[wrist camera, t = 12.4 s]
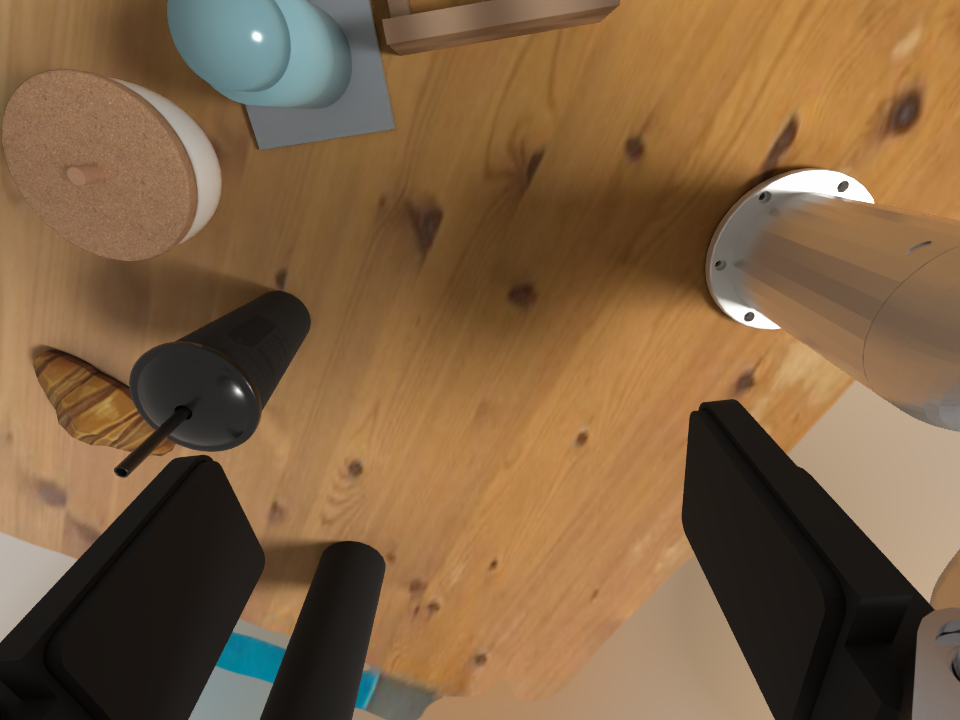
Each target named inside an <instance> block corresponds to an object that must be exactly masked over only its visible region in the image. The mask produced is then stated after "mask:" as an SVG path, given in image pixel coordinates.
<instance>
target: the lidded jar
mask: <svg viewBox="0 0 960 720" xmlns="http://www.w3.org/2000/svg"><path fill="white" fill-rule="evenodd" d="M2 143H3V148H4V154H5V158H6V161H7V164H8V167H9V170H10V173H11V175H12V177H13V179H14V181H15V183H16V185H17V187H18V188H19V190H20V192H21V193H22V195H23V197H24V198H25V200H26V201H27V202H28V204H29V205H30V206H31V207H32V209H33V210H34V211H35V212H36V213H37V214H38V215H39V217H40V218H41V219H42V220H43V221H44V222H45V223H46V224H47V225H48V226H50V227H51V228H52V229H53V230H54V231H56V232H57V233H58V234H59V235H61V236H62V237H64V238H65V239H67V240H68V241H69V242H71V243H72V244H74V245H76V246H78V247H80V248H82V249H84V250H86V251H88V252H91V253H93V254H96V255H98V256H101V257H105V258H109V259H113V260H121V261H140V260H145V259H149V258H153V257H156V256H158V255H160V254H163V253H165V252H167V251H169V250H170V249H172V248H173V247H175V246H177V245H179V244H181V243H183V242H185V241H187V240H188V239H190V238H191V237H192V236H194V235H195V234H197V233H198V232H199V231H200V230H201V229H202V228H203V227H204V226H205V225H206V224H207V223H208V222H209V221H210V220H211V218H212V216H213V215H214V213H215V211H216V209H217V206H218V203H219V201H220V196H221V191H222V176H221V169H220V165H219V161H218V158H217V155H216V153H215V151H214V148H213V146H212V144H211V143H210V141H209V139H208V138H207V136H206V134H205V133H204V132H203V130H202V129H201V128H200V126H199V125H198V124H197V123H196V122H195V121H194V120H193V119H192V118H191V117H190V116H189V115H188V114H187V113H186V112H184V111H183V110H182V109H181V108H180V107H178V106H177V105H176V104H175V103H173V102H171V101H170V100H168V99H167V98H165V97H163V96H162V95H160V94H158V93H156V92H153V91H151V90H149V89H147V88H145V87H142V86H140V85H136V84H133V83H130V82H127V81H123V80H120V79H116V78H110V77H104V76H101V75H98V74H94V73H90V72H84V71H76V70H67V69H65V70H51V71H47V72H43V73H39V74H37V75H35V76H33V77H31V78H29V79H28V80H26V81H25V82H24V83H23V84H21V85H20V86H19V87H18V88H17V89H16V91H15V92H14V94H13V95H12V96H11V98H10V99H9V102H8V105H7V107H6V109H5V112H4V117H3V124H2Z"/></svg>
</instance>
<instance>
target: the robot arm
mask: <svg viewBox="0 0 960 720" xmlns="http://www.w3.org/2000/svg"><path fill="white" fill-rule="evenodd" d="M761 194H762V196H761V198H760V199H759V197H760V195H761ZM718 261H719V262H718ZM717 262H718V264H717V265H715V264H716V263H717ZM705 270H706V282H707V285H708V288H709V292H710V294H711V296H712V298H713V299H714V301H715V303H716V304H717V305H718V307H719V308H720V309H721V310H722V311H723V312H724V313H725V314H727V315H728V316H730V317H731V318H732V319H733V320H735V321H737V322H739V323H741V324H743V325H745V326H749V327H753V328H757V329H769V330H774V329H783V330H785V331H786V332H788V333H789V334H790V335H792V336H793V337H795V338H796V339H798V340H799V341H801V342H802V343H804V344H805V345H806V346H808V347H809V348H811V349H812V350H814V351H815V352H817V353H818V354H819V355H821V356H822V357H824V358H825V359H827V360H828V361H830V362H831V363H833V364H834V365H835V366H837V367H838V368H840V369H841V370H843V371H844V372H846V373H847V374H848V375H850V376H851V377H853V378H854V379H856V380H857V381H859V382H860V383H862V384H863V385H865V386H866V387H867V388H869V389H870V390H872V391H873V392H875V393H876V394H877V395H879V396H880V397H882V398H883V399H885V400H887V401H888V402H890V403H891V404H893V405H894V406H896V407H897V408H899V409H900V410H901V411H903V412H905V413H907V414H909V415H910V416H912V417H914V418H916V419H918V420H921V421H923V422H925V423H928V424H931V425H934V426H937V427H940V428H944V429H948V430H952V431H957V432H960V221H958V220H953V219H948V218H943V217H938V216H933V215H929V214H924V213H919V212H914V211H909V210H904V209H899V208H894V207H890V206H885V205H880V204H875V203H874V200H873V197H872V196H871V195H870V193H869V192H868V191H867V189H866V188H865V186H863V185H862V184H861V183H860V182H858V181H857V180H856V179H854V178H853V177H851V176H849V175H846V174H844V173H842V172H839V171H834V170H828V169H819V168H804V169H797V170H791V171H788V172H785V173H782V174H779V175H776V176H773V177H772V178H770V179H768V180H766V181H764V182H762V183H760V184H758V185H757V186H755V187H754V188H753V189H751V190H750V191H749V192H747V193H746V194H745V195H743V196H742V197H741V198H740V199H739V200H738V201H737V202H736V203H735V204H734V205H733V206H732V207H731V208H730V210H729V211H728V212H727V214H726V215H725V216H724V218H723V219H722V220H721V222H720V223H719V225H718V227H717V229H716V231H715V233H714V235H713V237H712V239H711V242H710V246H709V249H708V252H707V258H706V266H705ZM682 524H683V528H684V531H685V534H686V537H687V539H688V541H689V543H690V545H691V547H692V549H693V551H694V553H695V555H696V557H697V559H698V561H699V563H700V565H701V567H702V570H703V572H704V574H705V576H706V578H707V580H708V582H709V584H710V586H711V588H712V590H713V592H714V595H715V596H716V599H717V601H718V603H719V605H720V607H721V609H722V611H723V613H724V615H725V617H726V619H727V621H728V624H729V626H730V628H731V630H732V632H733V634H734V636H735V638H736V640H737V642H738V644H739V646H740V648H741V650H742V652H743V655H744V657H745V659H746V661H747V663H748V665H749V667H750V669H751V671H752V673H753V675H754V677H755V679H756V681H757V683H758V685H759V688H760V690H761V692H762V694H763V696H764V698H765V700H766V702H767V704H768V706H769V708H770V711H771V713H772V715H773V717H774V718H775V720H960V550H959V551H958V552H957V553H956V554H955V556H954V557H953V558H952V560H951V561H950V562H949V563H948V565H947V566H946V568H945V569H944V571H943V572H942V574H941V575H940V577H939V579H938V580H937V582H936V584H935V586H934V589H933V592H932V595H931V600H930V604H929V603H928V602H927V601H926V600H925V599H924V598H923V596H922V595H921V594H920V593H919V592H918V591H917V590H916V589H915V588H914V587H913V586H912V585H911V583H910V582H909V581H908V580H907V579H906V578H905V577H904V576H903V575H902V574H901V573H900V571H899V570H898V569H897V568H896V567H895V566H894V565H893V564H892V563H891V562H890V561H889V559H888V558H887V557H886V556H885V555H884V554H883V553H882V552H881V551H880V550H879V549H878V548H877V547H876V545H875V544H874V543H873V542H872V541H871V540H870V539H869V538H868V537H867V536H866V535H865V533H864V532H863V531H862V530H861V529H860V528H859V527H858V526H857V525H856V524H855V523H854V522H853V520H852V519H851V518H850V517H849V516H848V515H847V514H846V513H845V512H844V511H843V510H842V508H841V507H840V506H839V505H838V504H837V503H836V502H835V501H834V500H833V499H832V498H831V497H830V496H829V494H828V493H827V492H826V491H825V490H824V489H823V488H822V487H821V486H820V485H819V483H818V482H817V481H816V480H815V479H814V478H813V477H812V476H811V475H810V474H809V473H808V472H806V471H805V470H804V469H803V468H800V467H798V466H796V465H795V463H794V462H793V461H792V460H791V459H790V458H789V457H788V456H787V455H786V453H785V452H784V451H783V450H782V449H781V448H780V447H779V446H778V445H777V443H776V442H775V441H774V440H773V439H772V438H771V437H770V436H769V435H768V434H767V432H766V431H765V430H764V429H763V428H762V427H761V426H760V425H759V424H758V422H757V421H756V420H755V419H754V418H753V417H752V416H751V415H750V414H749V413H748V411H747V410H746V409H745V408H744V407H743V406H742V405H741V404H740V403H739V402H738V401H737V400H734V399H731V400H721V401H712V402H703V403H702V404H701V405H700V407H699V411H693V412H691V414H690V419H689V432H688V444H687V456H686V469H685V481H684V493H683V506H682ZM264 564H265V555H264V552H263V550H262V548H261V546H260V544H259V542H258V539H257V537H256V535H255V533H254V531H253V529H252V527H251V525H250V523H249V521H248V519H247V517H246V515H245V513H244V511H243V509H242V507H241V505H240V503H239V501H238V499H237V497H236V495H235V493H234V491H233V489H232V487H231V485H230V483H229V481H228V479H227V477H226V475H225V473H224V471H223V469H222V467H221V465H220V464H219V463H218V462H216V461H213V459H212V458H211V457H209V456H207V455H198V456H188V457H179V458H175V459H173V460H172V461H171V462H169V463H168V465H167V466H166V467H165V468H164V469H163V470H162V471H161V472H160V473H159V474H158V475H157V476H156V477H155V478H154V479H153V481H152V482H151V483H150V484H149V485H148V486H147V487H146V488H145V489H144V490H143V491H142V492H141V493H140V494H139V495H138V497H137V498H136V499H135V500H134V501H133V502H132V503H131V504H130V505H129V506H128V507H127V508H126V509H125V510H124V511H123V513H122V514H121V515H120V516H119V517H118V518H117V519H116V520H115V521H114V522H113V523H112V524H111V525H110V526H109V527H108V529H107V530H106V531H105V532H104V533H103V534H102V535H101V536H100V537H99V538H98V539H97V540H96V541H95V542H94V543H93V544H92V546H91V547H90V548H89V549H88V550H87V551H86V552H85V553H84V554H83V555H82V556H81V557H80V558H79V559H78V560H77V562H76V563H75V564H74V565H73V566H72V567H71V568H70V569H69V570H68V571H67V572H66V573H65V574H64V575H63V576H62V578H61V579H60V580H59V581H58V582H57V583H56V584H55V585H54V586H53V587H52V588H51V589H50V590H49V592H48V593H47V594H46V595H45V596H44V597H43V598H42V599H41V600H40V601H39V602H38V603H37V604H36V605H35V606H34V607H33V608H32V610H31V611H30V612H29V613H28V614H27V615H26V616H25V617H24V618H23V619H22V620H21V621H20V622H19V623H18V624H17V626H16V627H15V628H14V629H13V630H12V631H11V632H10V633H9V634H8V635H7V636H6V637H5V638H4V639H3V640H2V641H1V643H0V720H188V719H189V717H190V715H191V713H192V711H193V709H194V707H195V705H196V703H197V701H198V699H199V697H200V695H201V693H202V691H203V689H204V686H205V685H206V683H207V681H208V679H209V677H210V675H211V673H212V671H213V669H214V667H215V665H216V663H217V661H218V659H219V657H220V655H221V653H222V651H223V649H224V647H225V645H226V643H227V641H228V639H229V637H230V635H231V633H232V631H233V629H234V627H235V625H236V623H237V621H238V619H239V617H240V615H241V613H242V611H243V609H244V607H245V605H246V603H247V601H248V599H249V597H250V595H251V593H252V591H253V590H254V588H255V586H256V584H257V582H258V580H259V578H260V576H261V574H262V571H263V569H264Z"/></svg>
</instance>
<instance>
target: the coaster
mask: <svg viewBox="0 0 960 720" xmlns="http://www.w3.org/2000/svg"><path fill="white" fill-rule="evenodd" d="M309 1H310V2H312V3H313V4H315V5H316V6H318V7H320V8H321V9H323V10H324V11H325V12H327V13H328V14H329V15H330V16H331V17H333V18H334V20H335V21H336V22H337V23H338V24H339V26H340V27H341V29H342V30H343V32H344V34H345V36H346V38H347V41H348V43H349V47H350V50H351V56H352V73H351V78H350V82H349V85H348V87H347V89H346V91H345V92H344V94H343V95H342V96H341V98H340V99H339V100H337V101H336V102H335V103H333V104H332V105H330V106H328V107H325V108H321V109H304V108H289V107H273V106H257V105H247V104H245V106H246V109H247V112H248V115H249V118H250V121H251V124H252V128H253V131H254V134H255V137H256V140H257V143H258V146H259V149H260V150H265V149H272V148H278V147H284V146H291V145H297V144H303V143H310V142H316V141H322V140H329V139H335V138H341V137H348V136H354V135H360V134H366V133H373V132H379V131H385V130H392V129H396V127H395V122H394V117H393V112H392V107H391V102H390V97H389V92H388V86H387V81H386V76H385V71H384V66H383V61H382V56H381V51H380V46H379V41H378V36H377V31H376V26H375V21H374V16H373V11H372V6H371V1H370V0H309Z"/></svg>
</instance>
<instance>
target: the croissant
mask: <svg viewBox="0 0 960 720" xmlns="http://www.w3.org/2000/svg"><path fill="white" fill-rule="evenodd" d="M33 365H34V368H35V372H36V375H37V378H38V381H39V383H40V385H41V387H42V388H43V390H44V392H45V394H46V396H47V397H48V399H49V401H50V403H51V404H52V405H53V407H54V408H55V409H56V413H57V418H58V423H59V424H60V425H61V426H62V427H63V428H64V429H65V430H66V431H67V432H68V433H69V434H70V435H71V436H72V437H73V438H76V439H78V440H80V441H83V442H85V443H87V444H90V445H102V446H110V447H113V448H117V449H121V450H125V451H130V452H133V451H134V450H135V449H136V448H137V447H138V446H139V445H140V444H141V443H142V442H143V441H144V440H146V439H147V438H148V437H149V436H150V435H151V434H152V433H153V432H154V431H155V430H154V429H153V428H152V427H151V426H150V425H149V424H148V423H147V422H146V421H145V420H144V419H143V418H142V416H141V415H140V414H139V412H138V410H137V409H136V407H135V405H134V403H133V400H132V397H131V394H130V388H129V387H127V386H126V385H124V384H122V383H120V382H118V381H117V380H115V379H113V378H111V377H109V376H107V375H105V374H102V373H100V372H99V371H98V370H97V369H95V368H94V367H93V366H92V365H90V364H88V363H86V362H84V361H81V360H79V359H77V358H75V357H73V356H71V355H68V354H65V353H62V352H59V351H56V350H49V351H46V352H44V353H42V354H40V355H39V356H38V357H37V358H36V359H35V361H34V364H33ZM175 444H176V443H174V442H172V441H170V440H168V439H167V438H166V439H165V440H164V441H163V442H162V443H161V444H160V445H159V446H158V447H157V448H156V449H155V450H154V451H153V452H152V453H151V454H150V455H157V456H162V455H164V454H166V453H168V452H170V451H171V450H173V448H174V446H175Z"/></svg>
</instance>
